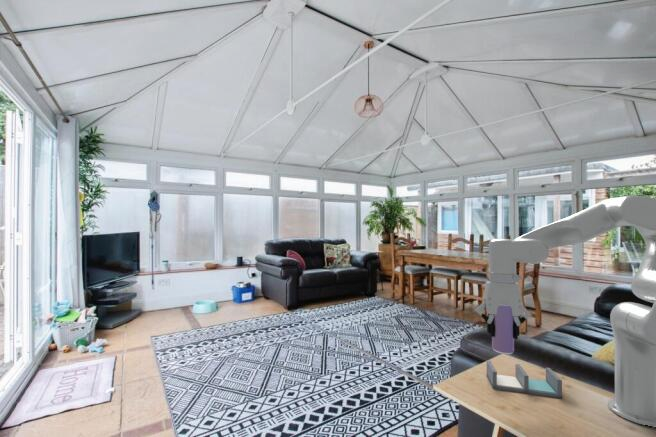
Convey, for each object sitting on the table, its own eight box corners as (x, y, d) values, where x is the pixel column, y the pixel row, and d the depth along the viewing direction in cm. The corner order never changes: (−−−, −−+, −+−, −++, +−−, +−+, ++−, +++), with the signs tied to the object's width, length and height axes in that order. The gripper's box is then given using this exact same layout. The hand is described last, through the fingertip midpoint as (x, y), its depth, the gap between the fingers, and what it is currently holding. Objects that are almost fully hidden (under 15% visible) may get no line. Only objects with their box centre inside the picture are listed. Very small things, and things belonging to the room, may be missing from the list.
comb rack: (549, 384, 105) (549, 368, 106) (562, 398, 97) (561, 380, 97) (486, 375, 111) (486, 360, 111) (492, 388, 102) (492, 371, 102)
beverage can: (517, 355, 93) (516, 305, 93) (495, 354, 94) (495, 304, 94) (509, 348, 98) (509, 300, 99) (489, 346, 100) (489, 299, 100)
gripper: (529, 278, 98) (529, 335, 98) (470, 275, 103) (470, 330, 102) (538, 282, 91) (539, 344, 90) (474, 278, 96) (474, 337, 95)
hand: (502, 336), depth 96 cm, fingers closed on beverage can, 6 cm apart
